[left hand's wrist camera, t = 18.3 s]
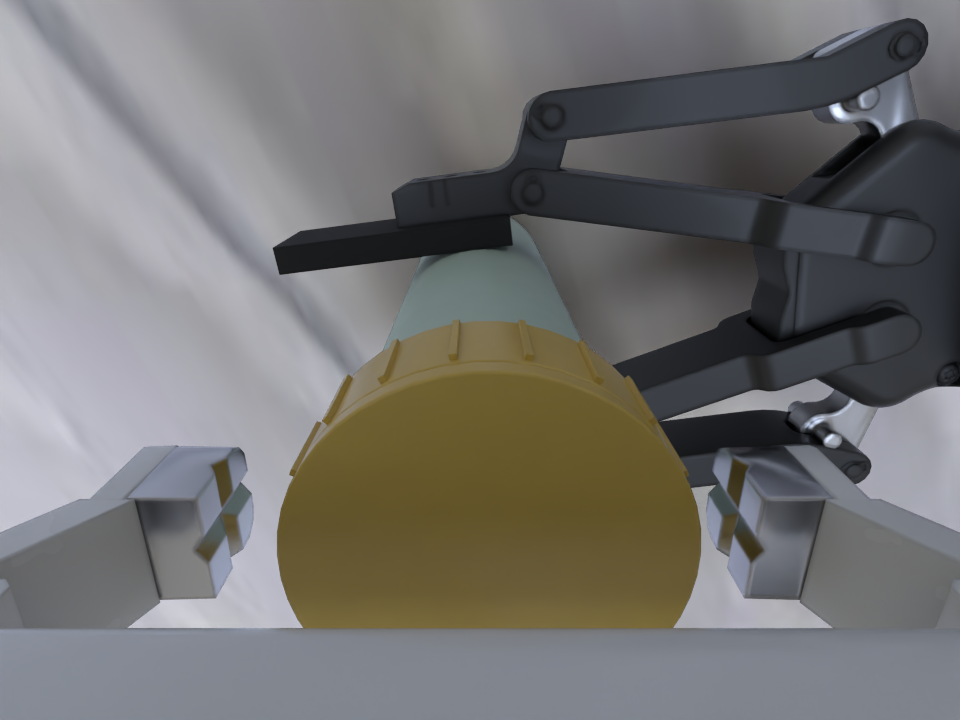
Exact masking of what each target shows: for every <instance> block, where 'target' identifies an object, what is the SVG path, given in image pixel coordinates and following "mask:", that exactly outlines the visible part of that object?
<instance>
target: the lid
mask: <svg viewBox="0 0 960 720" xmlns="http://www.w3.org/2000/svg"><path fill="white" fill-rule="evenodd" d="M289 475H291V476H294V477H293V479H292V481H291V483H290V485H289V487H288V490H287V493H286V496H285V499H284V502H283V505H282V508H281V512H280V518H279V524H278V530H277V557H278V564H279V570H280V576H281V581H282V584H283V587H284V590H285V593H286V596H287V599H288V601H289V603H290V605H291V607H292V609H293V611H294V613H295V615H296V617H297V619H298V621H299V622H300V624H301V625H302V627H303V628H673V627H674V626H675V624H676V623H677V621H678V620H679V618H680V617H681V615H682V613H683V611H684V609H685V607H686V605H687V603H688V601H689V599H690V596H691V593H692V590H693V587H694V584H695V581H696V578H697V574H698V568H699V562H700V556H701V526H700V520H699V514H698V508H697V504H696V501H695V498H694V495H693V493H692V490H691V487H690V484H689V482H688V480H687V478H686V477H688V476H689V474H688V471H687V469H686V467H685V466H684V464H683V463H682V461H681V459H680V458H679V456H678V454H677V453H676V451H675V449H674V448H673V446H672V444H671V443H670V441H669V439H668V438H667V436H666V434H665V433H664V431H663V429H662V428H661V426H660V425H659V423H658V421H657V419H656V418H655V416H654V414H653V413H652V411H651V409H650V408H649V406H648V404H647V403H646V401H645V399H644V398H643V396H642V394H641V393H640V391H639V390H638V388H637V386H636V385H635V383H634V381H633V380H632V378H631V377H630V376H629V375H628V376H627V377H626V378H624V377H623V376H622V375H621V374H620V373H619V372H618V371H617V370H616V369H615V368H614V367H613V366H612V365H611V364H610V363H608V362H607V361H606V360H604V359H603V358H602V357H600V356H599V355H598V354H596V353H595V352H594V351H592V350H590V349H589V347H588V345H587V343H586V342H585V341H583V340H581V339H580V340H579V342H576V341H574V340H572V339H570V338H568V337H565V336H562V335H560V334H557V333H555V332H552V331H550V330H546V329H542V328H538V327H534V326H530V325H526V321H525V320H518V323H512V322H503V321H472V322H465V323H460V320H459V319H458V320H453V322H452V324H449V325H446V326H442V327H438V328H434V329H430V330H426V331H424V332H421V333H419V334H416V335H414V336H411V337H409V338H406V339H404V340H402V341H399V340H398V338H397V339H395V340H393V341H392V342H391V344H390V347H389V348H387V349H386V350H384V351H382V352H381V353H379V354H378V355H377V356H375V357H374V358H373V359H371V360H370V361H369V362H368V363H366V364H365V365H364V366H362V367H361V368H360V369H359V370H358V371H357V372H356V373H355V375H354V376H353V377H351V376H350V375H347V376H346V377H345V378H344V379H343V381H342V383H341V385H340V387H339V389H338V391H337V393H336V395H335V397H334V399H333V401H332V402H331V404H330V406H329V408H328V410H327V412H326V414H325V416H324V418H323V420H322V423H320V422H318V421H317V422H316V424H315V426H314V428H313V430H312V432H311V433H310V435H309V437H308V439H307V441H306V443H305V445H304V446H303V448H302V450H301V452H300V454H299V456H298V458H297V459H296V461H295V463H294V465H293V467H292V469H291V471H290V474H289Z"/></svg>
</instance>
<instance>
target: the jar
mask: <svg viewBox="0 0 960 720" xmlns="http://www.w3.org/2000/svg"><path fill="white" fill-rule="evenodd" d="M510 222H511V231H512V241H513V245H512V246H504V247H496V248H488V249H480V250H471V251H464V252H456V253H448V254H440V255H432V256H425V257H422V258H421V260H420V262H419V265H418V267H417V270H416V272H415V274H414V277H413V279H412V282H411V284H410V286H409V289H408V291H407V294H406V296H405V299H404V301H403V303H402V306H401V308H400V311H399V313H398V315H397V318H396V320H395V323H394V325H393V327H392V330H391V332H390V335H389V337H388V340H387V342H386V344H385V347H384V349H383V351H384V350H386V349H387V348H389V347H390V344H391V342H392V341H393V340H395V339H397V338H398V340H399V341H402V340H404V339H406V338H409V337H411V336H414V335H416V334H419V333H421V332H424V331H426V330H430V329H434V328H438V327H442V326H446V325H449V324H452V322H453V320H458V319H459V320H460V323H465V322H472V321H503V322H512V323H518V320H525V321H526V325H530V326H534V327H538V328H542V329H546V330H550V331H552V332H555V333H557V334H560V335H562V336H565V337H568V338H570V339H572V340H574V341H576V342H579V340H580V339H581V338H580V336H579V334H578V332H577V330H576V328H575V326H574V324H573V322H572V319H571V317H570V315H569V313H568V311H567V309H566V307H565V305H564V303H563V301H562V299H561V297H560V294H559V292H558V290H557V288H556V286H555V284H554V282H553V280H552V278H551V276H550V274H549V272H548V270H547V267H546V265H545V263H544V261H543V259H542V257H541V255H540V253H539V251H538V249H537V247H536V245H535V243H534V241H533V239H532V237H531V236H530V234H529V233H528V232H527V231H526V229H525V228H524V227H523V226H522V225H521V224H519V223H518V222H517V221H515V220H514V219H512V218H510Z"/></svg>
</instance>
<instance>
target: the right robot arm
mask: <svg viewBox="0 0 960 720" xmlns="http://www.w3.org/2000/svg"><path fill="white" fill-rule="evenodd" d="M927 46H928V32H927V30H926V28H925V26H924V24H922V23H921V22H920V21H918V20H917V19H910V18H906V19H902V20H898V21H894V22H890V23H885V24H881V25H876V26H872V27H868V28H864V29H861V30H857V31H853V32H849V33H845V34H842V35H840V36H838V37H836V38H834V39H832V40H830V41H828V42H826V43H824V44H822V45H820V46H818V47H816V48H814V49H812V50H811V51H809V52H807V53H805V54H803V55H801V56H799V57H797V58H795V59H793V60H791V61H784V62H776V63H768V64H760V65H753V66H745V67H737V68H729V69H721V70H713V71H705V72H697V73H689V74H682V75H674V76H666V77H658V78H650V79H642V80H634V81H626V82H618V83H610V84H603V85H595V86H587V87H579V88H571V89H563V90H555V91H549V92H546V93H543V94H541V95H538V96H536V97H534V98H532V99H531V100H530V101H529V102H528V103H527V104H526V106H525V108H524V110H523V116H522V122H521V127H520V131H519V135H518V139H517V144H516V147H515V150H514V153H513V154H512V156H511V157H510V159H509V160H508V161H507V162H506V163H505V164H503V165H501V166H499V167H496V168H492V169H485V170H477V171H470V172H462V173H455V174H448V175H439V176H433V177H424V178H417V179H413V180H411V181H409V182H408V183H406V184H404V185H403V186H401V187H399V188H398V189H396V190H395V191H394V192H393V193H392V198H393V204H394V210H395V215H396V219H390V220H383V221H375V222H367V223H359V224H352V225H344V226H336V227H328V228H321V229H313V230H305V231H300V232H298V233H297V234H295V235H293V236H292V237H290V238H288V239H287V240H285V241H283V242H282V243H280V244H278V245H277V246H275V247H274V248H273V251H274V255H275V259H276V263H277V267H278V270H279V274H280V275H282V274H290V273H298V272H306V271H314V270H321V269H329V268H337V267H345V266H353V265H361V264H369V263H377V262H385V261H393V260H401V259H409V258H417V257H425V256H432V255H440V254H448V253H456V252H464V251H471V250H480V249H488V248H496V247H504V246H512V245H513V241H512V231H511V222H510V216H511V215H518V214H527V215H531V216H538V217H546V218H554V219H562V220H570V221H578V222H586V223H593V224H601V225H609V226H617V227H625V228H633V229H641V230H649V231H656V232H664V233H672V234H680V235H688V236H696V237H704V238H711V239H719V240H727V241H735V242H743V243H750V244H754V257H755V261H756V265H757V269H758V273H759V280H758V283H757V286H756V289H755V293H754V296H753V299H752V306H751V310H748V311H745V312H742V313H740V314H737V315H734V316H731V317H728V318H726V319H724V320H722V321H721V322H720V323H719V325H718V327H717V328H715V329H713V330H711V331H708V332H705V333H702V334H699V335H696V336H694V337H691V338H688V339H685V340H682V341H679V342H677V343H674V344H671V345H668V346H665V347H663V348H660V349H657V350H654V351H651V352H648V353H646V354H643V355H640V356H637V357H634V358H632V359H629V360H626V361H623V362H620V363H617V364H615V365H612V366H613V367H614V368H615V369H616V370H617V371H618V372H619V373H620V374H621V375H622V376H623V377H624V378H626V377H627V376H628V375H629V376H630V377H631V378H632V380H633V381H634V383H635V385H636V386H637V388H638V390H639V391H640V393H641V394H642V396H643V398H644V399H645V401H646V403H647V404H648V406H649V408H650V409H651V411H652V413H653V414H654V416H655V418H656V419H657V421H658V423H659V425H660V426H661V428H662V429H663V431H664V433H665V434H666V436H667V438H668V439H669V441H670V443H671V444H672V446H673V448H674V449H675V451H676V453H677V454H678V456H679V458H680V459H681V461H682V463H683V464H684V466H685V467H686V469H687V471H688V474H689V476H688V477H686V478H687V480H688V482H689V484H690V487H691V488H694V487H702V486H711V485H717V484H718V483H719V480H718V479H717V477H716V476H715V474H714V473H713V471H712V469H713V463H714V458H715V455H716V453H717V451H718V449H719V448H729V447H770V446H806V445H809V446H812V447H815V448H817V449H819V450H820V451H821V452H822V453H823V454H824V455H825V456H826V457H827V458H828V459H829V460H830V461H831V462H832V463H833V464H834V465H835V466H836V467H837V468H838V469H839V470H840V471H841V472H843V473H844V474H845V475H846V476H847V477H848V478H849V479H850V480H851V481H852V482H853V483H854V484H857V483H859V482H861V481H862V480H864V479H865V478H866V477H867V475H868V474H869V473H870V469H871V462H870V460H869V459H868V457H867V456H866V455H865V454H863V453H862V452H861V451H860V450H859V449H858V446H859V444H860V442H861V440H862V438H863V436H864V435H865V433H866V431H867V429H868V427H869V425H870V423H871V421H872V419H873V417H874V415H875V413H876V411H877V409H878V407H889V406H893V405H896V404H899V403H901V402H903V401H905V400H906V399H908V398H910V397H912V396H913V395H915V394H917V393H920V392H922V391H924V390H927V389H930V388H934V387H944V386H952V387H960V131H956V130H953V129H950V128H948V127H946V126H944V125H942V124H940V123H938V122H935V121H931V120H925V119H918V114H917V110H916V105H915V100H914V96H913V91H912V87H911V82H910V77H909V73H908V70H910V69H911V68H912V67H914V66H915V65H917V64H918V62H919V61H920V60H921V58H922V57H923V56H924V54H925V51H926V49H927ZM807 110H812V111H813V113H814V116H815V117H816V118H817V119H818V120H819V121H821V122H823V123H830V124H849V123H853V124H855V125H856V126H857V127H858V128H859V130H860V132H861V134H860V135H859V136H858V137H857V138H856V139H854V140H853V141H852V142H851V143H849V144H848V145H847V146H846V147H845V148H843V149H842V150H841V151H840V152H838V153H837V154H836V155H835V156H834V157H832V158H831V159H830V160H829V161H828V162H826V163H825V164H824V165H823V166H821V167H820V168H819V169H818V170H817V171H815V172H814V173H813V174H812V175H810V176H809V177H808V178H807V179H806V180H804V181H803V182H802V183H801V184H800V185H798V186H797V187H796V188H795V189H793V190H792V191H791V192H790V193H789V194H787V195H786V196H783V195H775V194H768V193H760V192H752V191H745V190H737V189H723V188H715V187H708V186H700V185H692V184H685V183H677V182H669V181H662V180H654V179H647V178H639V177H631V176H624V175H616V174H608V173H601V172H593V171H586V170H578V169H570V168H563V167H560V165H561V161H562V158H563V154H564V150H565V146H566V142H567V140H572V139H580V138H588V137H597V136H605V135H613V134H621V133H629V132H637V131H645V130H653V129H662V128H670V127H678V126H686V125H694V124H702V123H710V122H719V121H727V120H735V119H743V118H751V117H759V116H767V115H775V114H784V113H792V112H800V111H807ZM815 378H816V379H818V380H819V381H821V382H823V383H825V384H826V385H828V386H830V387H832V388H834V391H833V392H832V394H830V395H829V396H828V397H827V398H825V399H824V400H821V401H818V402H806V403H803V402H801V401H795V402H793V403H791V404H790V406H789V407H788V412H785V411H778V410H753V411H743V412H735V413H727V414H719V415H710V416H702V417H694V418H685V419H677V420H669V421H662V420H665V419H668V418H671V417H674V416H677V415H680V414H683V413H686V412H689V411H692V410H694V409H697V408H700V407H703V406H706V405H709V404H712V403H715V402H718V401H721V400H724V399H727V398H730V397H733V396H736V395H739V394H742V393H745V392H748V391H751V390H764V391H777V390H782V389H785V388H788V387H791V386H794V385H797V384H800V383H803V382H806V381H809V380H812V379H815ZM659 421H661V422H659Z"/></svg>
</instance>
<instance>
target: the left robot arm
mask: <svg viewBox="0 0 960 720" xmlns="http://www.w3.org/2000/svg"><path fill="white" fill-rule="evenodd" d="M247 471H248V469H247V464H246V459H245V454H244V452H243V451H242V450H241V449H240V448H239V447H201V446H180V447H179V446H150V447H144V448H143V449H142V450H141V451H140V452H139V453H137V454H136V455H135V456H134V457H133V458H132V459H131V460H130V461H129V462H128V463H127V464H126V465H125V466H124V467H123V468H122V469H121V470H120V471H119V472H118V473H117V474H116V475H114V476H113V477H112V478H111V479H110V480H109V481H108V482H107V483H106V484H105V485H104V486H103V487H102V488H101V489H100V490H99V491H98V492H97V493H96V494H95V495H94V496H92V497H91V498H90V499H79V500H77V501H74V502H72V503H69V504H67V505H65V506H62V507H60V508H58V509H55V510H53V511H50V512H48V513H46V514H43V515H41V516H38V517H36V518H34V519H31V520H29V521H27V522H24V523H22V524H19V525H17V526H15V527H12V528H10V529H8V530H5V531H3V532H0V720H960V533H959V532H957V531H955V530H952V529H950V528H948V527H945V526H943V525H940V524H938V523H936V522H933V521H931V520H929V519H926V518H924V517H921V516H919V515H917V514H914V513H912V512H910V511H907V510H905V509H902V508H900V507H898V506H895V505H893V504H891V503H888V502H886V501H883V500H881V499H870V498H869V497H868V496H867V495H865V494H864V493H863V492H862V491H861V490H860V489H859V488H858V487H857V486H856V485H855V484H854V483H853V482H852V481H851V480H850V479H849V478H848V477H847V476H846V475H845V474H844V473H843V472H841V471H840V470H839V469H838V468H837V467H836V466H835V465H834V464H833V463H832V462H831V461H830V460H829V459H828V458H827V457H826V456H825V455H824V454H823V453H822V452H821V451H820V450H819V449H817V448H815V447H812V446H809V445H806V446H770V447H729V448H719V449H718V451H717V453H716V455H715V458H714V463H713V469H712V471H713V473H714V474H715V476H716V477H717V479H718V480H719V483H718V484H717V485H716V486H715V487H714V488H713V489H712V490H711V491H710V492H709V493H708V500H707V508H706V514H707V526H708V530H709V533H710V536H711V539H712V541H713V543H714V545H715V547H716V549H717V550H719V551H721V552H722V553H724V554H725V555H727V556H728V557H729V561H728V567H727V568H728V570H729V572H730V574H731V576H732V577H733V579H734V581H735V583H736V584H737V586H738V588H739V590H740V592H741V593H742V595H743V597H744V598H751V599H788V600H800V603H801V604H803V605H804V606H805V607H807V608H808V609H809V610H811V611H812V612H813V613H815V614H816V615H817V616H818V617H820V618H821V619H822V620H824V621H825V622H826V623H828V624H829V625H830V626H832V627H833V628H127V627H129V626H130V625H131V624H133V623H134V622H135V621H137V620H138V619H139V618H140V617H142V616H143V615H144V614H146V613H147V612H148V611H150V610H151V609H152V608H154V607H155V606H156V605H157V604H159V603H160V600H171V599H207V598H216V597H217V595H218V593H219V592H220V590H221V588H222V586H223V584H224V583H225V581H226V579H227V577H228V576H229V574H230V572H231V570H232V568H233V567H232V561H231V557H232V556H233V555H235V554H236V553H238V552H239V551H241V550H243V549H244V547H245V545H246V543H247V541H248V539H249V537H250V533H251V528H252V524H253V508H254V506H253V499H252V493H251V492H250V491H249V490H248V489H247V488H246V487H245V486H244V485H243V484H242V483H241V480H242V479H243V477H244V476H245V474H246V473H247Z"/></svg>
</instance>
